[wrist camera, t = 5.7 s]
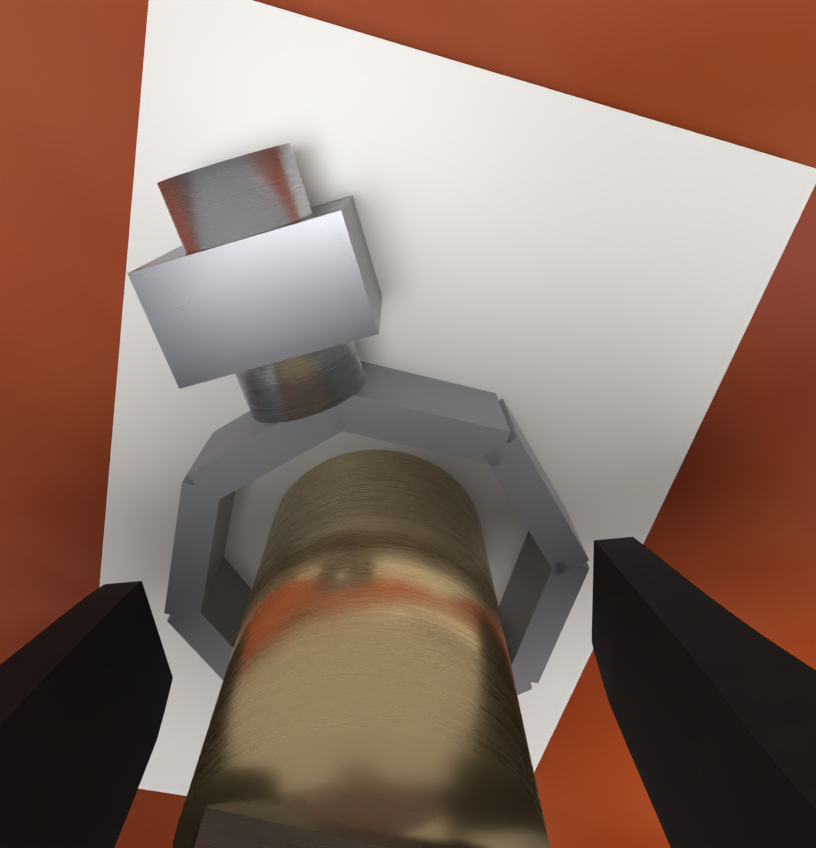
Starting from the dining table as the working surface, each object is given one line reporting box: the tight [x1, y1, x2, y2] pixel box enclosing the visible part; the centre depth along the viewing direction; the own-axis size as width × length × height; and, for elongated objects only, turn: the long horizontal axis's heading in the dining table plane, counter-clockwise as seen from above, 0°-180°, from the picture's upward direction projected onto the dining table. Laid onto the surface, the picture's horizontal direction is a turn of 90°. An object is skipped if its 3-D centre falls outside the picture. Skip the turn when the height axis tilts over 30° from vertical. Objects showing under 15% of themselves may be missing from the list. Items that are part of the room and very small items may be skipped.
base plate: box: [99, 0, 816, 796], centre depth 12 cm, size 16×10×3 cm, turn 166°
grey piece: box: [127, 143, 382, 423], centre depth 9 cm, size 3×3×2 cm
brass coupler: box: [173, 450, 550, 848], centre depth 9 cm, size 4×4×7 cm
